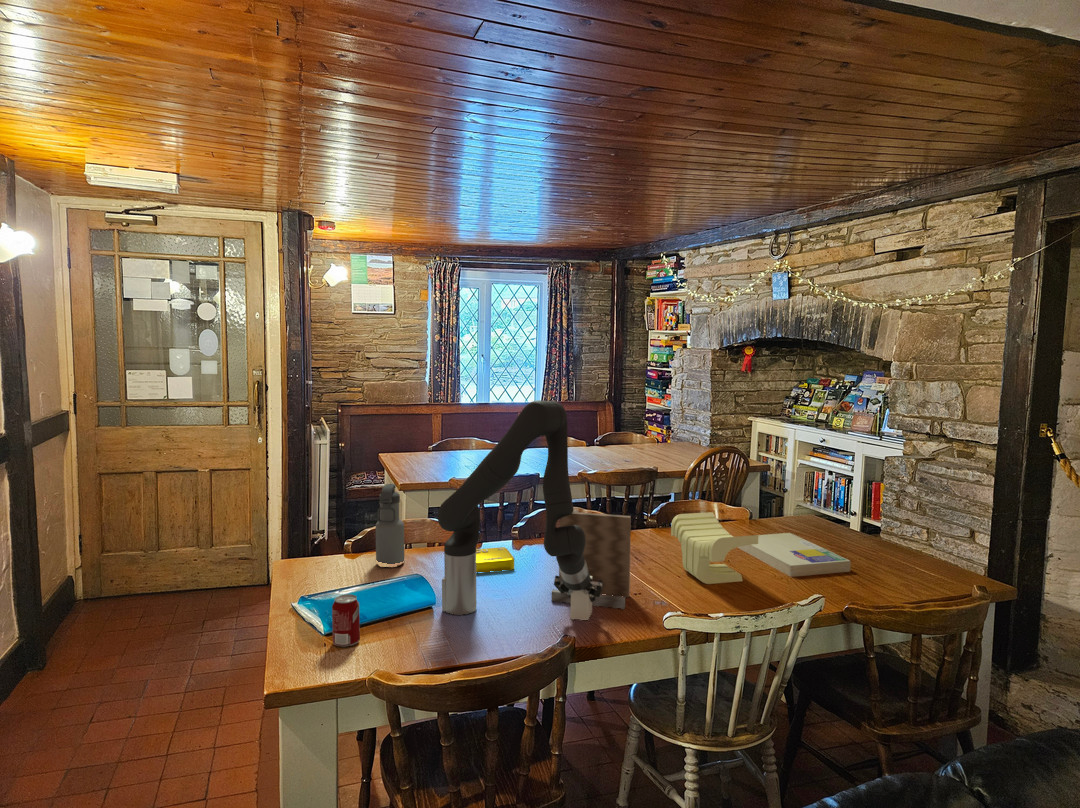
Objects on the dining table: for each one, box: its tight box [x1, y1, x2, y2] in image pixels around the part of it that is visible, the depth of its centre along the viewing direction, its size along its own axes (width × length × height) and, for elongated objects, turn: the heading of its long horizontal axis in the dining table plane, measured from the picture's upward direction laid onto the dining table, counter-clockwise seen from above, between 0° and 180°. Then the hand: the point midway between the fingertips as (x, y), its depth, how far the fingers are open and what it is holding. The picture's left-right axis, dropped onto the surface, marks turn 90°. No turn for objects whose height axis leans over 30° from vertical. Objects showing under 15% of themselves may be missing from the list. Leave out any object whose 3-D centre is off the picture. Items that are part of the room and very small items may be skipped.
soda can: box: [331, 593, 361, 648], centre depth 176 cm, size 7×7×12 cm
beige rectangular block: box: [570, 576, 593, 621], centre depth 194 cm, size 5×6×11 cm
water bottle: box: [375, 483, 405, 564], centre depth 238 cm, size 10×10×28 cm
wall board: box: [551, 511, 632, 610], centre depth 207 cm, size 22×12×25 cm, turn 75°
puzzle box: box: [737, 532, 852, 578], centre depth 248 cm, size 36×5×24 cm
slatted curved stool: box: [670, 511, 759, 585], centre depth 228 cm, size 30×16×18 cm, turn 14°
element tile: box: [476, 546, 515, 572], centre depth 239 cm, size 15×15×5 cm
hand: (582, 597), depth 196 cm, fingers closed on beige rectangular block, 5 cm apart
